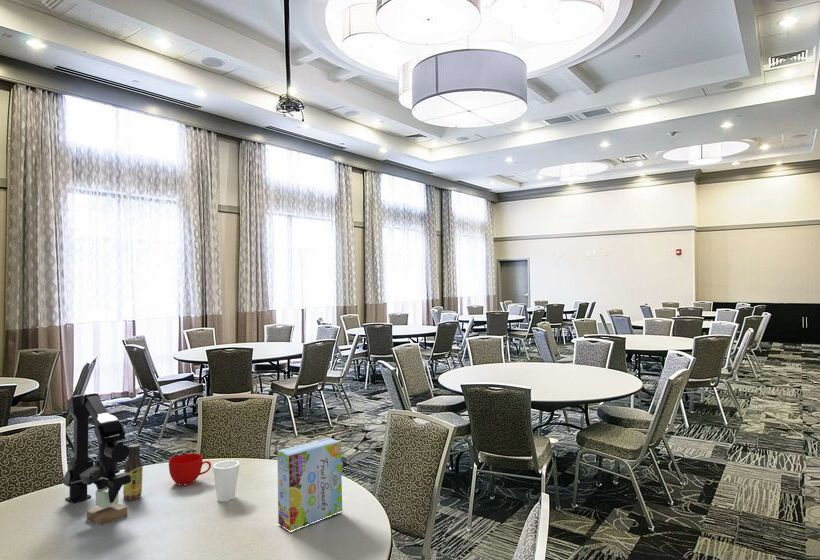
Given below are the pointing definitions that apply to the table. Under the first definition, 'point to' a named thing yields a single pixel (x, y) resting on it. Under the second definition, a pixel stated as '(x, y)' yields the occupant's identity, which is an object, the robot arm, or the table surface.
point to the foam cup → (226, 479)
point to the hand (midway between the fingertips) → (107, 500)
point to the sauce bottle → (133, 473)
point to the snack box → (309, 482)
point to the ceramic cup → (186, 468)
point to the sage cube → (104, 498)
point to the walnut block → (106, 514)
